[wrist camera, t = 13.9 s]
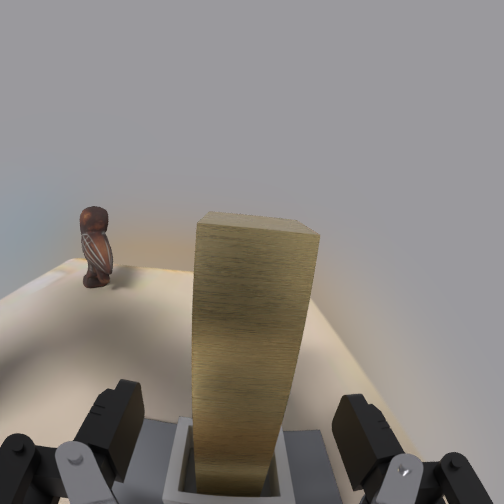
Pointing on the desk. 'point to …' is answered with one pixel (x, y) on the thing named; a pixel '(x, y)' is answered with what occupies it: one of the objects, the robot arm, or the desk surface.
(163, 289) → the desk surface
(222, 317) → the post
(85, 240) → the figurine
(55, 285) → the desk surface
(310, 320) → the desk surface
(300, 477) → the plate
